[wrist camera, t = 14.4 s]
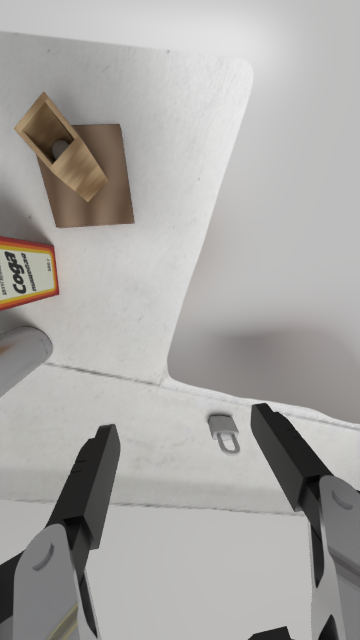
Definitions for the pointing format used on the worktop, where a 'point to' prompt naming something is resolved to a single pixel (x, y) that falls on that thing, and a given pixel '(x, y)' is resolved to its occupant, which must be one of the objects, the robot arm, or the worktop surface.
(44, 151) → the wooden holder box
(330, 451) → the worktop surface
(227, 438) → the padlock
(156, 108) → the worktop surface
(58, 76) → the worktop surface
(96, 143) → the plate
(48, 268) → the baking soda box
